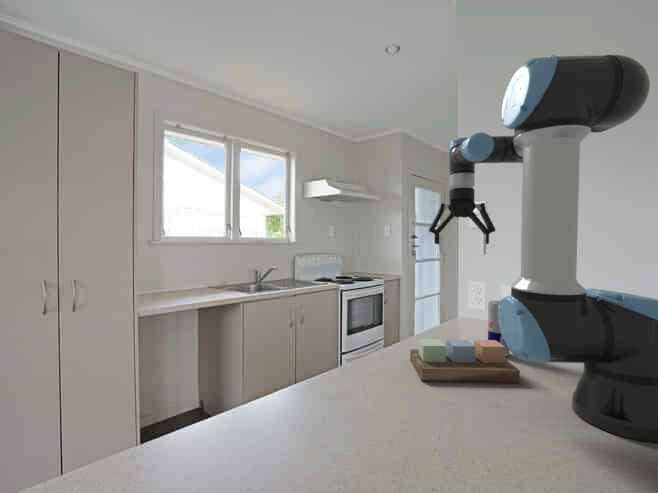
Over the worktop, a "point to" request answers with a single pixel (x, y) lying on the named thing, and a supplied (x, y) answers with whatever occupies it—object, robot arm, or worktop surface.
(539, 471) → the worktop surface
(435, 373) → the board
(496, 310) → the beverage can
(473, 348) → the slate button
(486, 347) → the terracotta button
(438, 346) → the sage button
